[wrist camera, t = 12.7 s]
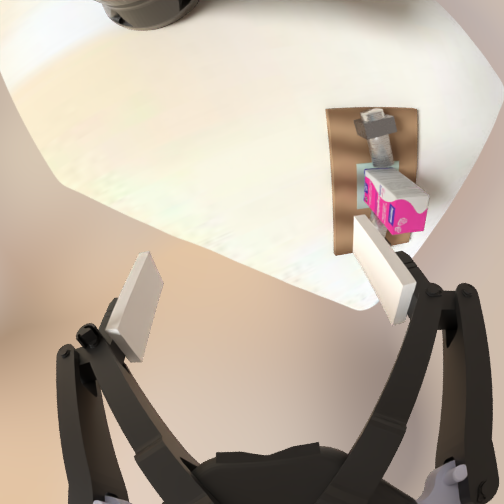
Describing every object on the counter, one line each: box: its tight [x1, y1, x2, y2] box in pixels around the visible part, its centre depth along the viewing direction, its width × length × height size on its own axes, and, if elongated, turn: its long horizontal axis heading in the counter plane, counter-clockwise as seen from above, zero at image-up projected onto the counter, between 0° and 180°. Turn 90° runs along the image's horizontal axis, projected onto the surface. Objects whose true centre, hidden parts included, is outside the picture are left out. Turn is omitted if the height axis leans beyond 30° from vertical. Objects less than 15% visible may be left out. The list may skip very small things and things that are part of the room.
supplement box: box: [363, 167, 430, 235], centre depth 36 cm, size 6×6×12 cm
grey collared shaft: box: [353, 108, 397, 168], centre depth 35 cm, size 9×5×4 cm, turn 22°
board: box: [326, 107, 417, 256], centre depth 42 cm, size 26×16×1 cm, turn 10°
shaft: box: [369, 211, 391, 246], centre depth 45 cm, size 9×5×4 cm, turn 178°
